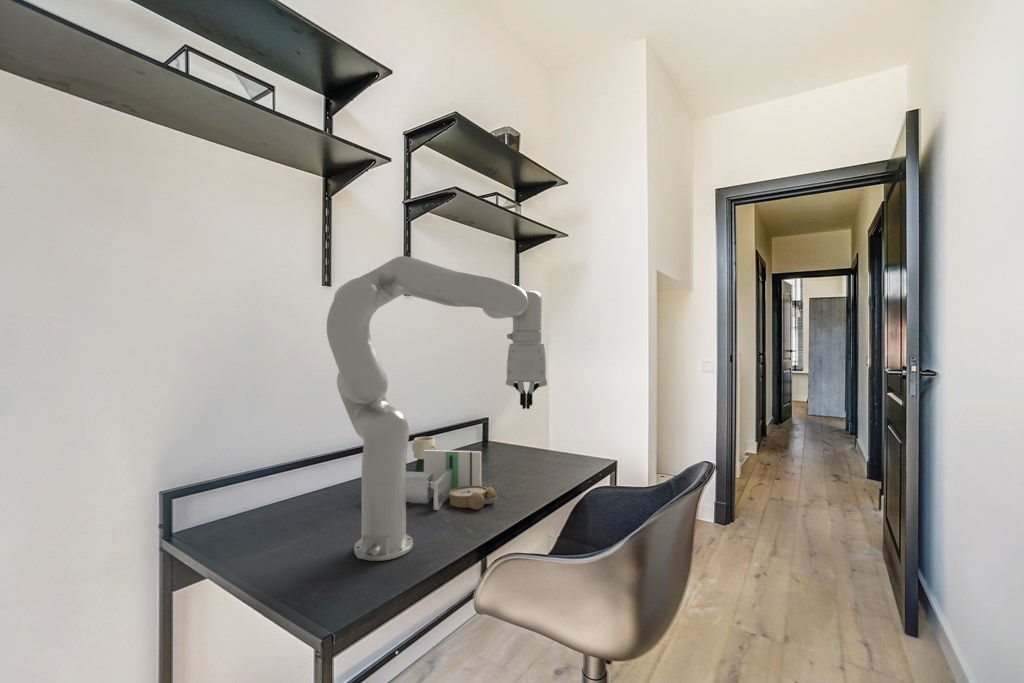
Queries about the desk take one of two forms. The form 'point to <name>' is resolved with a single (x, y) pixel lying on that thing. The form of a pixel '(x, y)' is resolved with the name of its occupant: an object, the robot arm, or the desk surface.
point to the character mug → (422, 450)
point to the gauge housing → (418, 487)
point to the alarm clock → (472, 496)
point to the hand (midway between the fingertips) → (526, 408)
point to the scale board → (455, 466)
